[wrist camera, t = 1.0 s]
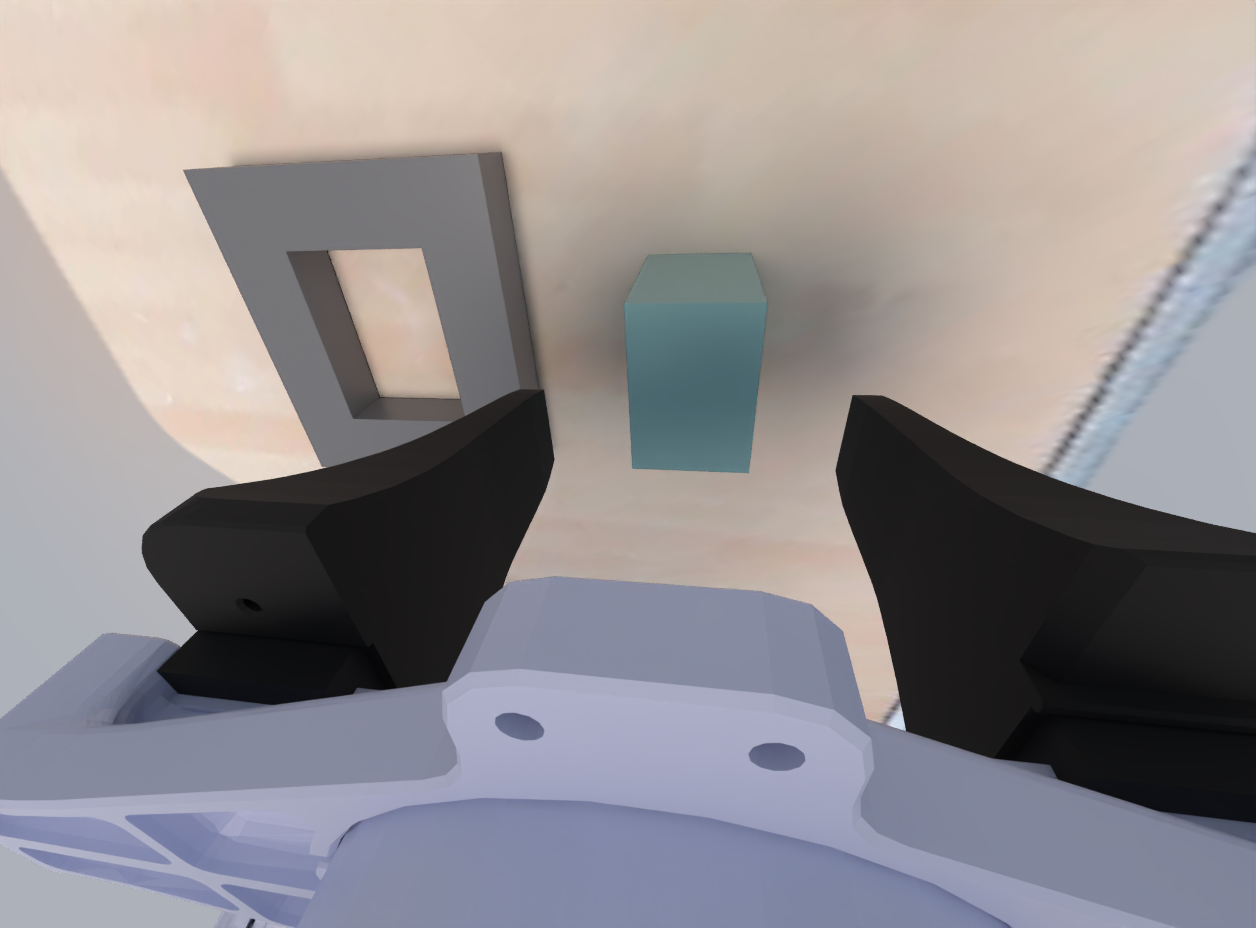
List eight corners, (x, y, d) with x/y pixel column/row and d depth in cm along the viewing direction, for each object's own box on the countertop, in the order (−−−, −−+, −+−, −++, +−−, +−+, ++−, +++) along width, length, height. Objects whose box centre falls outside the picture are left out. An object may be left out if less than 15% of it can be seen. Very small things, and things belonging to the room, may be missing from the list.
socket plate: (548, 450, 22) (535, 475, 21) (348, 443, 24) (322, 466, 22) (501, 152, 16) (477, 154, 14) (232, 166, 17) (182, 170, 16)
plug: (738, 387, 20) (748, 473, 15) (651, 385, 20) (632, 468, 15) (750, 252, 17) (767, 302, 12) (648, 254, 17) (624, 303, 12)
